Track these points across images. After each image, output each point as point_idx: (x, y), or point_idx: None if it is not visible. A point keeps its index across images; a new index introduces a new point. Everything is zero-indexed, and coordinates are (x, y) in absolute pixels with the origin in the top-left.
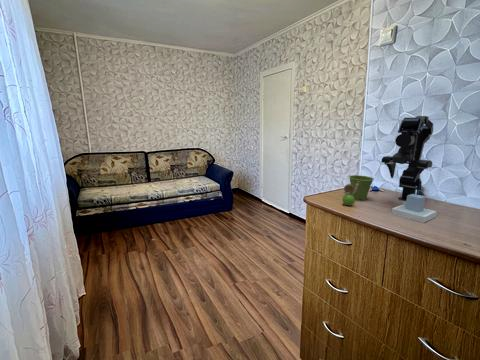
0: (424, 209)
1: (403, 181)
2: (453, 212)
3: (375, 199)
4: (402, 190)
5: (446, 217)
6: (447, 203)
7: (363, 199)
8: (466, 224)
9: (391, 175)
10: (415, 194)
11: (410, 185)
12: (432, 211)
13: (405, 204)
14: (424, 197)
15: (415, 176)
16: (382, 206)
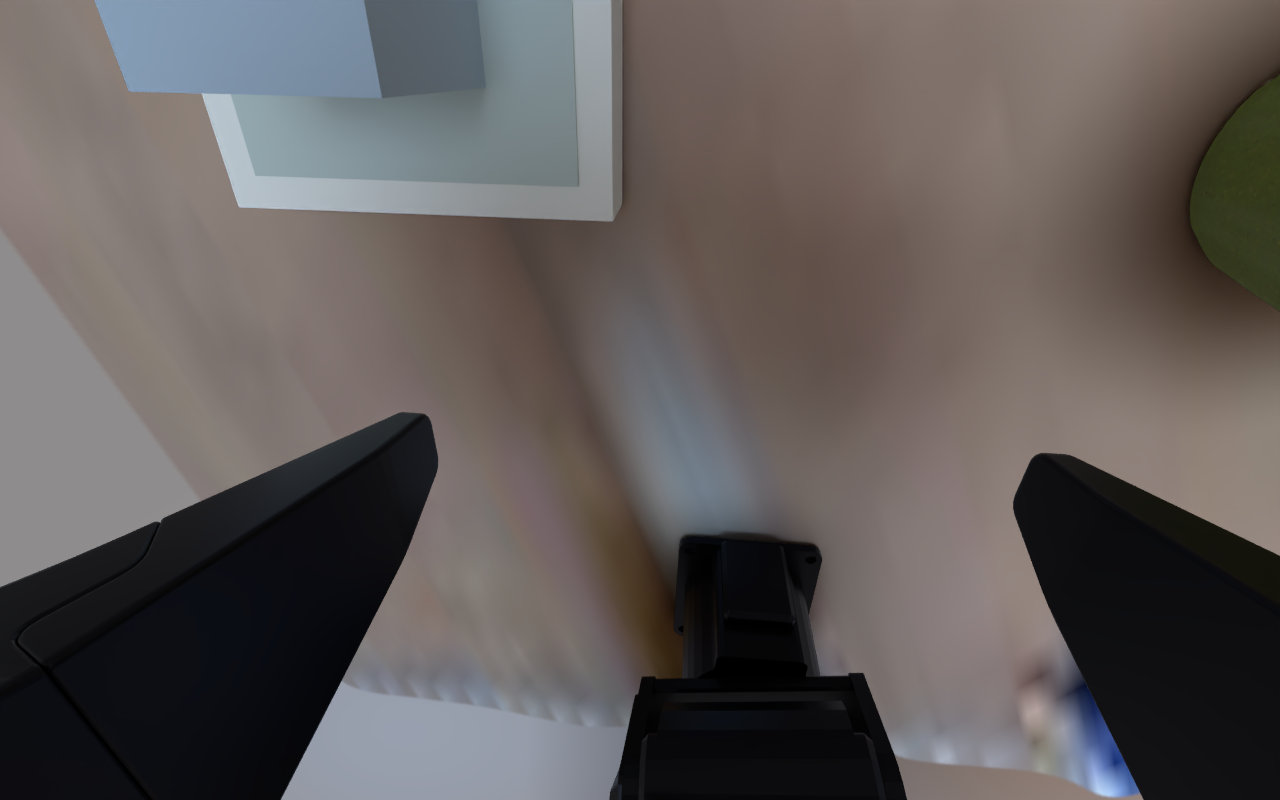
0: (328, 137)
1: (824, 736)
2: None
3: (1044, 325)
4: (813, 652)
5: (247, 281)
6: (490, 683)
7: (1235, 117)
8: (45, 204)
9: (1129, 497)
10: (316, 86)
11: (722, 702)
12: (249, 152)
13: (592, 184)
14: (103, 3)
15: (245, 497)
16: (873, 36)
